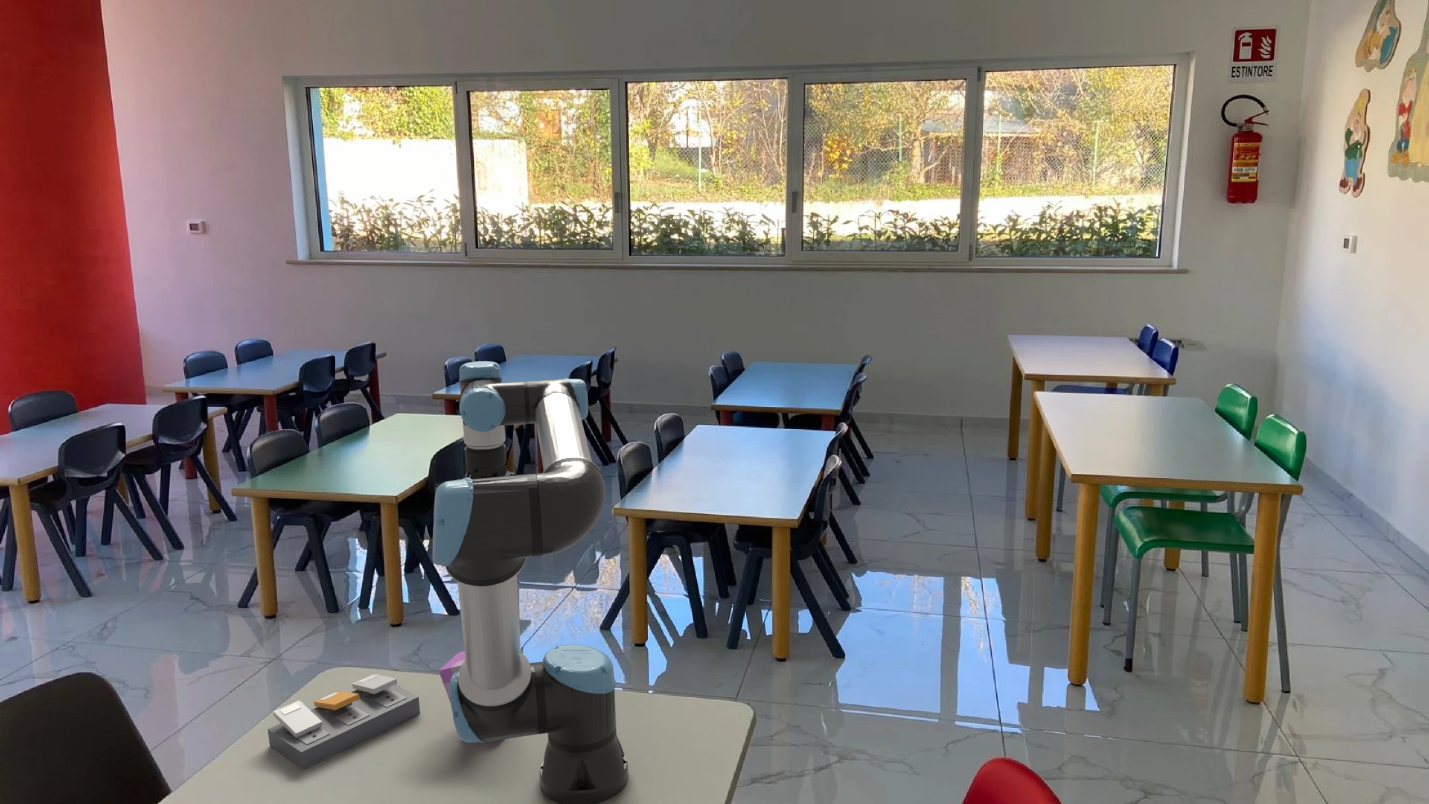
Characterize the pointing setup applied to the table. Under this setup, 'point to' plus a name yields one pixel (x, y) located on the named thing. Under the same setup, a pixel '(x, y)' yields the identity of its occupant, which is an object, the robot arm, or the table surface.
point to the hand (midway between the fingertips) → (492, 562)
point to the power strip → (345, 725)
